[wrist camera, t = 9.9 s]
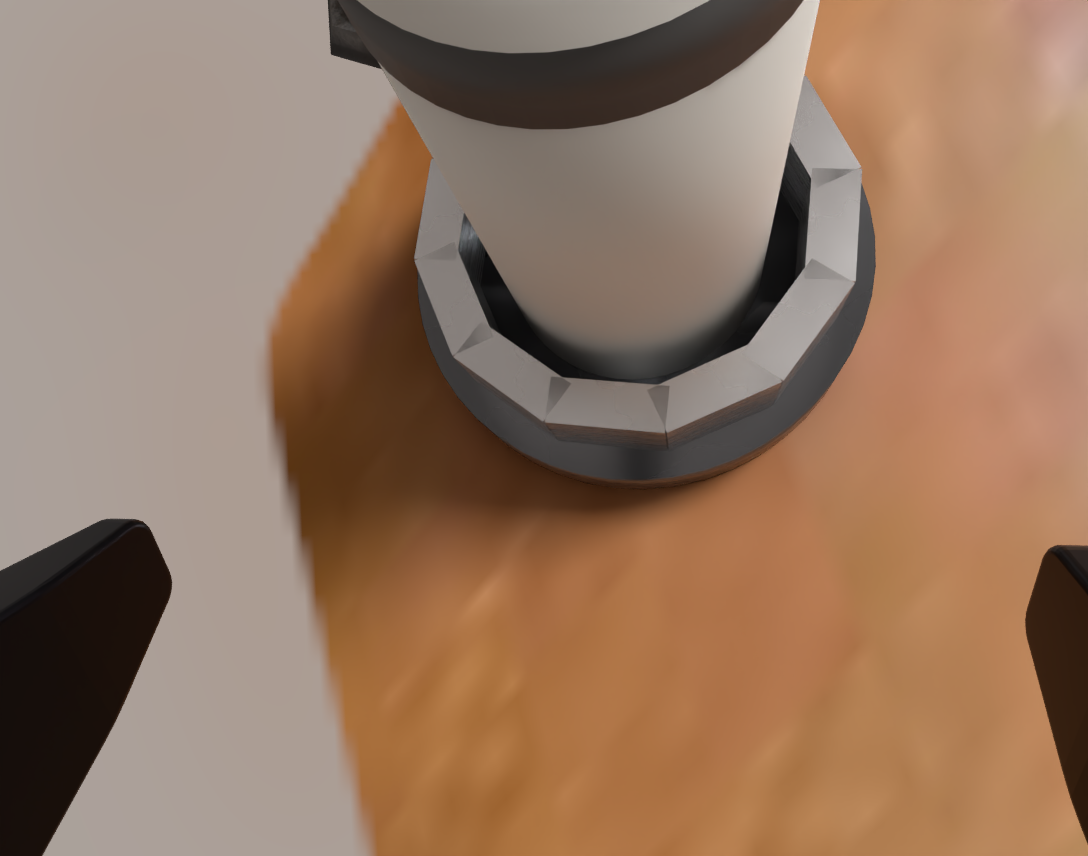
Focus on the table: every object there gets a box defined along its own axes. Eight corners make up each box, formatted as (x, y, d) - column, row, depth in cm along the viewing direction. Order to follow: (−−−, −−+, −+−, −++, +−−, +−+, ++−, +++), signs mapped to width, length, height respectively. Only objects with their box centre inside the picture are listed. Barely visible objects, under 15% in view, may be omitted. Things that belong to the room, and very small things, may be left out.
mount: (947, 375, 19) (1003, 325, 15) (524, 560, 20) (490, 550, 16) (741, 26, 22) (751, -80, 18) (381, 199, 23) (327, 127, 19)
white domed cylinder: (821, 253, 18) (1039, -339, 7) (631, 434, 18) (531, 139, 7) (637, 101, 20) (567, -576, 9) (462, 266, 20) (152, -199, 8)
